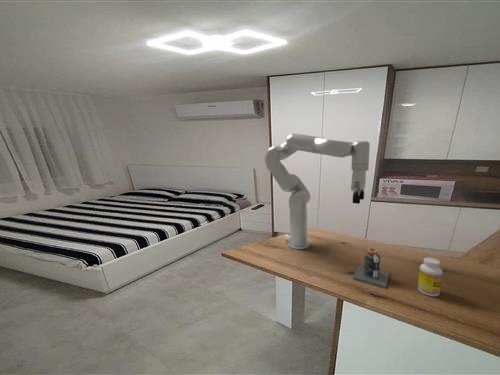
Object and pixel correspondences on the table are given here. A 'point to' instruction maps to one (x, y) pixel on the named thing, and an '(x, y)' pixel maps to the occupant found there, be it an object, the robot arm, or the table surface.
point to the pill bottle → (371, 263)
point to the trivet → (377, 281)
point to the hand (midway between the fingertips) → (358, 201)
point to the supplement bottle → (430, 277)
